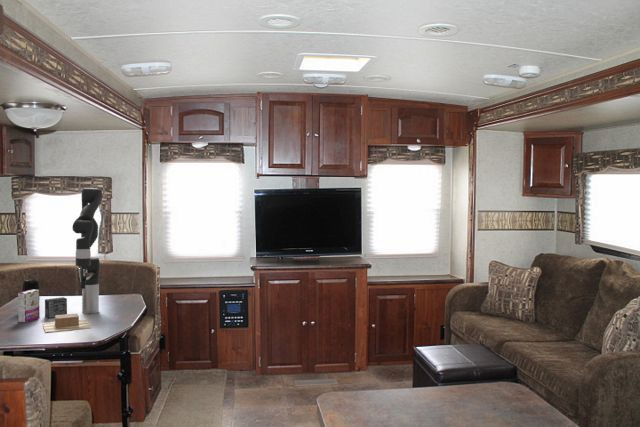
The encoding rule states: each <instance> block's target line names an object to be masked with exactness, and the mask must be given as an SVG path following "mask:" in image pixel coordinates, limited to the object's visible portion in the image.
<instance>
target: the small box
mask: <svg viewBox="0 0 640 427" xmlns="http://www.w3.org/2000/svg"><path fill="white" fill-rule="evenodd" d="M66 314H68V298H66V297H65V296H62V297H53V298H46V299H44V317H45V318H47V319H55V315H66Z"/></svg>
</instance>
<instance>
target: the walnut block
mask: <svg viewBox="0 0 640 427" xmlns="http://www.w3.org/2000/svg"><path fill="white" fill-rule="evenodd" d="M79 317H80V316H79V314H78V313H67V314H66V315H55V318H54V322H55V326H56V328H60V327H70V326H79V320H80V318H79Z"/></svg>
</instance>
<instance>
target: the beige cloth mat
mask: <svg viewBox="0 0 640 427" xmlns="http://www.w3.org/2000/svg"><path fill="white" fill-rule="evenodd" d="M42 327H43V330H44V333H45V334H48V333H47V332H50V333H58V332H66V331H67V332H68V331H77V330H78V331H79V330H87V329H92V326H91V325H90V323H89V322H88V320H87V319H86V318H82V319H79V326H70V327H60V328H56V326H55V321H53V322H52V321H51V322H43V323H42Z"/></svg>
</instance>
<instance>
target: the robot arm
mask: <svg viewBox="0 0 640 427" xmlns="http://www.w3.org/2000/svg"><path fill="white" fill-rule="evenodd" d="M102 201H103V191H102V189H100V188H95V187H94V188H92V187H84V188H82V190H81V211H80V214H79V216H78V217H77V218H76V219H75V220H74V221H73V224H72V228H71V229H72V231H73V232H74V233H75V234H80V237H78V238H77V239H76V241H75V266H76V267H79V269H78V276H79V282H80V289H81V290H82V292H81V301H82V302H81V307H82V308H81V313H82V314H88V315H89V314H96V313H99V312H100V311H99V310H100V308H99V307H100V305H99V304H100V303H99V302H100V268H101V266H100V264H101V263H100V259H99V257H96V256H93V257H91V247H92V246H93V245H94V243H95V242H96V240H97V239H98V238H99V224H98V222H97V221H96V219H95V218H94V217H95V213H96V211H97V209H98V208H99V206H100V205H101V203H102ZM90 273H92V274H91V275H90V276H88V274H90ZM87 276H88V277H87Z"/></svg>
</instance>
